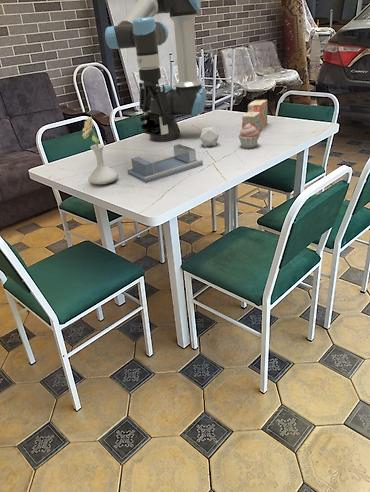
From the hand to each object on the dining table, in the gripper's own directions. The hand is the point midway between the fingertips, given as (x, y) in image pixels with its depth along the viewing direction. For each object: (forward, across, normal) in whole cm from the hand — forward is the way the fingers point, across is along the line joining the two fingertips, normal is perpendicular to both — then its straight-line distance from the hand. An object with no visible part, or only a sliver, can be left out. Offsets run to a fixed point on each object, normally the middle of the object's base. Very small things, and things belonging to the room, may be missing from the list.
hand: (156, 131), depth 159 cm
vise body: (+15, 0, +2) cm, 16 cm away
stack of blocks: (+16, -14, +62) cm, 66 cm away
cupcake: (+16, +3, +43) cm, 46 cm away
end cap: (+1, 0, 0) cm, 1 cm away
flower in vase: (+16, -6, -22) cm, 28 cm away
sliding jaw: (+14, 0, +13) cm, 19 cm away
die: (+16, -12, +33) cm, 38 cm away
